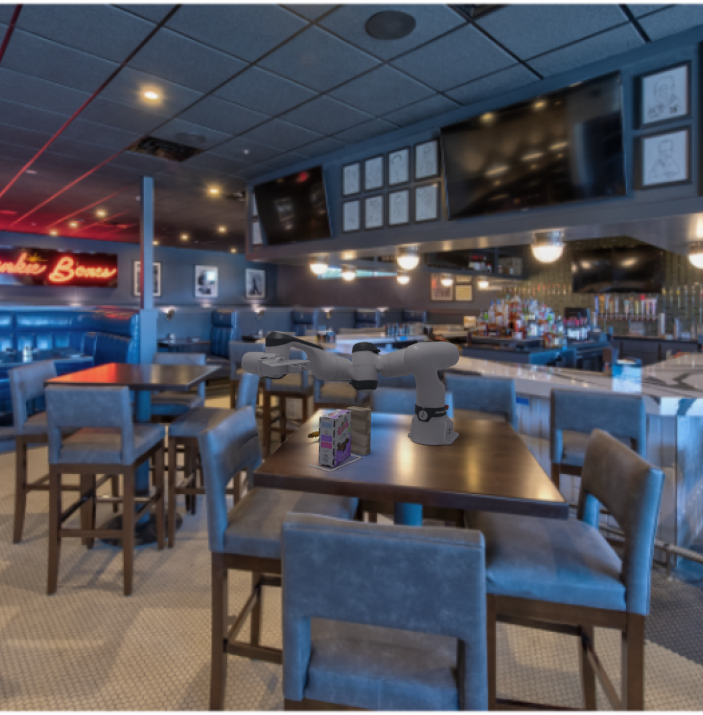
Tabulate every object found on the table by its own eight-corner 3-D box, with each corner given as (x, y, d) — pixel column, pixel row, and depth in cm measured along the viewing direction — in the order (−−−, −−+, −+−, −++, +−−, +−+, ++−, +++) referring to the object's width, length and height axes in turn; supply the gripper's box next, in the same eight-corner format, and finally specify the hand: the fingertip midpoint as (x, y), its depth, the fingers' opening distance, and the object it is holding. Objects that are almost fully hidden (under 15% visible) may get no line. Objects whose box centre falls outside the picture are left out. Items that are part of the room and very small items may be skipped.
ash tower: (352, 448, 172) (353, 406, 170) (370, 452, 168) (371, 409, 166) (345, 451, 169) (346, 407, 167) (363, 455, 164) (364, 411, 163)
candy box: (333, 468, 152) (334, 418, 150) (317, 465, 154) (318, 416, 152) (351, 455, 164) (352, 410, 162) (336, 453, 166) (337, 408, 165)
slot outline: (342, 452, 167) (342, 451, 167) (362, 457, 162) (362, 457, 162) (308, 465, 153) (308, 465, 153) (329, 472, 148) (329, 471, 148)
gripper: (294, 371, 180) (322, 374, 172) (254, 377, 164) (282, 381, 156) (294, 354, 180) (322, 357, 171) (254, 359, 163) (282, 362, 155)
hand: (303, 369), depth 163 cm, fingers closed
